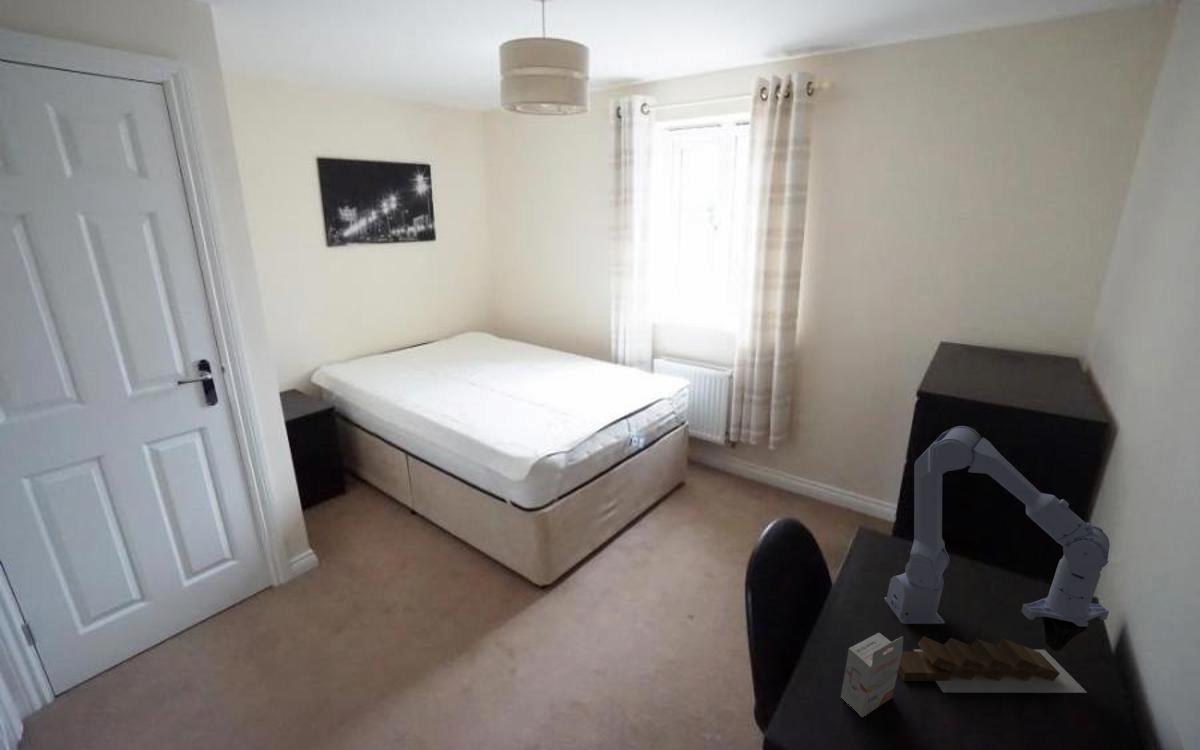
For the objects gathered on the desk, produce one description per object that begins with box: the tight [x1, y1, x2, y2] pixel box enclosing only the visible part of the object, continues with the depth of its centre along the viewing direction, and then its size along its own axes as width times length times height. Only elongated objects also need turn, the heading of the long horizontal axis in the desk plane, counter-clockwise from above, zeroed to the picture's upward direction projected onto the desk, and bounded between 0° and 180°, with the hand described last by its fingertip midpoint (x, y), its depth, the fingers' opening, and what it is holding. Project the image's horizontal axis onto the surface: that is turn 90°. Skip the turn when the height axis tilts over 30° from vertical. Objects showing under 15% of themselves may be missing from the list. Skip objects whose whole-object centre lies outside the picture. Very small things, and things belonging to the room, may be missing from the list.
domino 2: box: [917, 636, 977, 680], centre depth 103 cm, size 2×5×9 cm
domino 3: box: [944, 637, 1006, 681], centre depth 103 cm, size 2×5×9 cm
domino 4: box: [970, 638, 1034, 681], centre depth 103 cm, size 2×5×9 cm
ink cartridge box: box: [840, 632, 904, 718], centre depth 96 cm, size 9×5×15 cm, turn 117°
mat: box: [913, 648, 1088, 694], centre depth 104 cm, size 27×10×1 cm, turn 90°
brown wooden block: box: [996, 638, 1060, 681], centre depth 103 cm, size 2×5×9 cm
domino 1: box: [898, 651, 952, 682], centre depth 104 cm, size 2×5×9 cm
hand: (1052, 646), depth 102 cm, fingers closed
